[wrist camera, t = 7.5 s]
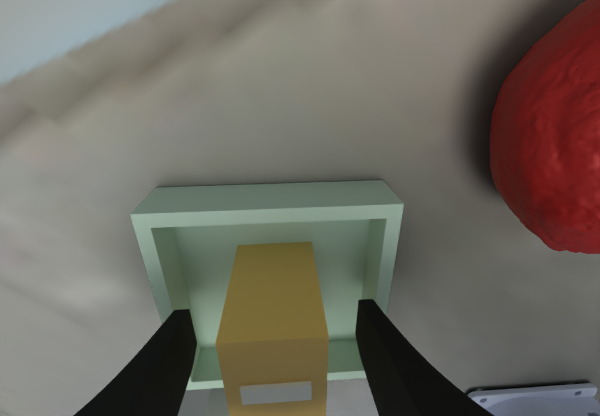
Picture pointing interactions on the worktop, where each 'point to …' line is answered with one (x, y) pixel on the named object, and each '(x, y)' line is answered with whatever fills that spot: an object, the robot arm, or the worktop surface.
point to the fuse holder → (204, 403)
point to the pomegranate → (553, 135)
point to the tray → (266, 230)
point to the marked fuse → (274, 333)
